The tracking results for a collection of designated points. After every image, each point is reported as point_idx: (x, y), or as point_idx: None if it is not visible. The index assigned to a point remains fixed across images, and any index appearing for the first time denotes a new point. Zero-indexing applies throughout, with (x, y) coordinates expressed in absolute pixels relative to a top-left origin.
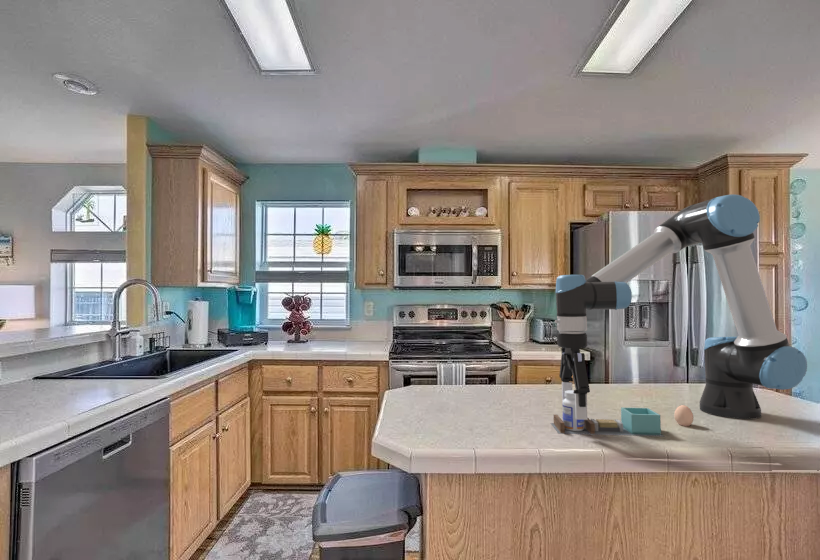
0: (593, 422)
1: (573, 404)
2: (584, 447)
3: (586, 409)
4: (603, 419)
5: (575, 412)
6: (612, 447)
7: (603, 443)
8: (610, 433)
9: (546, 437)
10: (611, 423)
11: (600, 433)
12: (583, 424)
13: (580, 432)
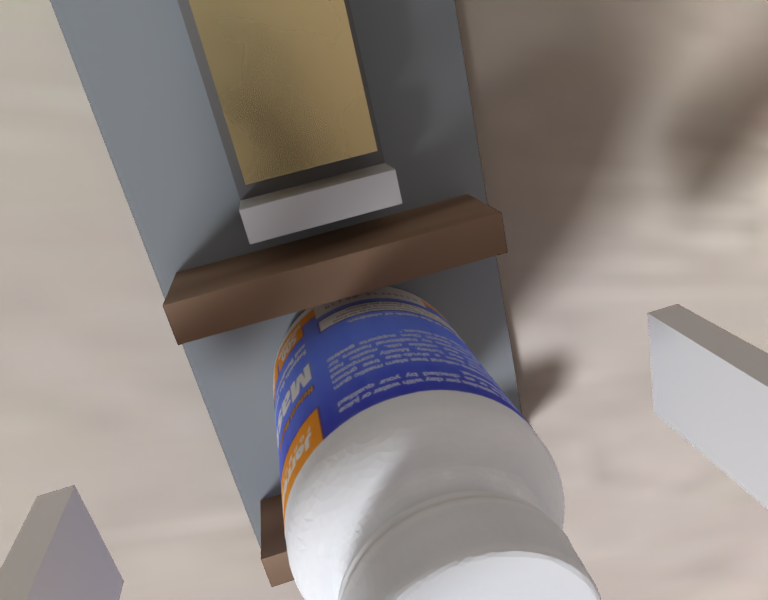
0: (347, 214)
1: (562, 513)
2: (762, 274)
3: (762, 358)
4: (222, 95)
5: (700, 447)
6: (743, 69)
7: (660, 133)
8: (418, 41)
9: (596, 513)
10: (344, 9)
11: (447, 142)
12: (423, 308)
13: (465, 312)
